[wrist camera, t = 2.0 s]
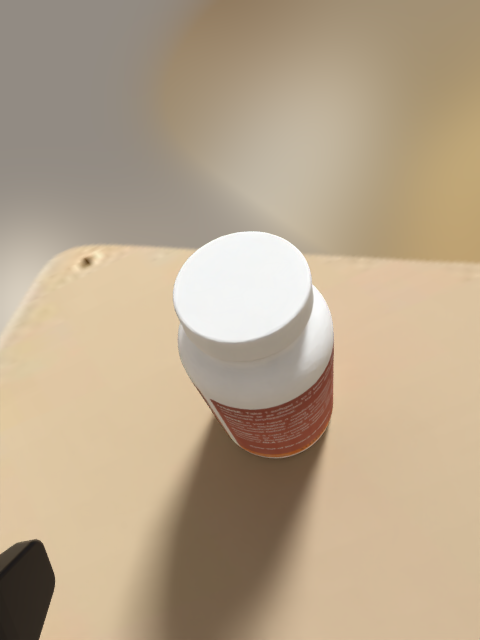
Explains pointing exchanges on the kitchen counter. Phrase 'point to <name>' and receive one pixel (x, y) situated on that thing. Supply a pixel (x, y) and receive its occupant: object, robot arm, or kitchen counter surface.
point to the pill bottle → (257, 341)
